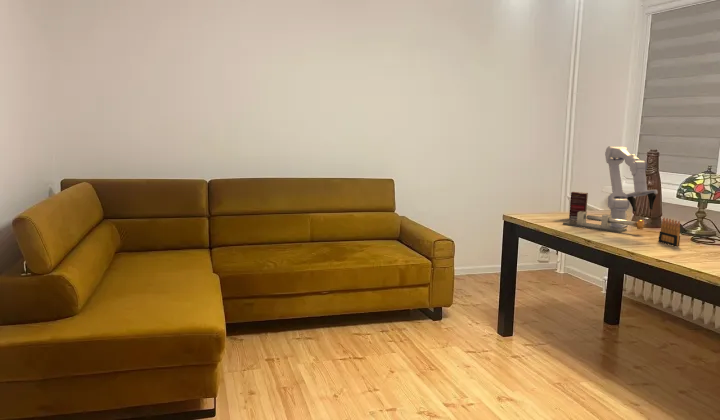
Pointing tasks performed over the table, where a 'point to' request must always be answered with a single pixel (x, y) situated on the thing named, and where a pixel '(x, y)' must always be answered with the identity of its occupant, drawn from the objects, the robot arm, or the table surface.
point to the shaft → (619, 221)
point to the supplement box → (577, 204)
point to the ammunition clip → (670, 232)
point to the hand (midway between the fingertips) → (642, 210)
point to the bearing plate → (604, 224)
